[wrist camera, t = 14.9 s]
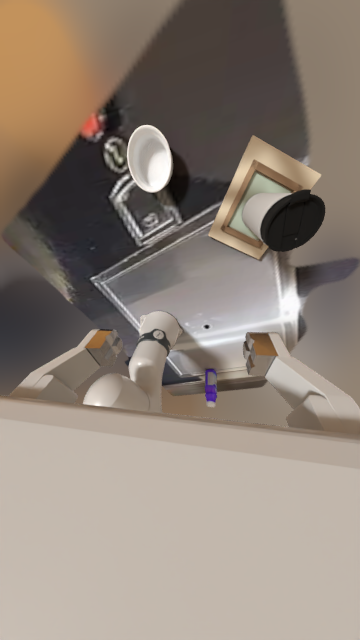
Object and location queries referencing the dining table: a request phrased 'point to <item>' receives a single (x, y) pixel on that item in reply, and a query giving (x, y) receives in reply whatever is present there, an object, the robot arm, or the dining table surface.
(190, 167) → the dining table surface
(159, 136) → the ramekin
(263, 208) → the travel mug
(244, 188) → the board
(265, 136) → the dining table surface
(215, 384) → the bottle
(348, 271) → the dining table surface
